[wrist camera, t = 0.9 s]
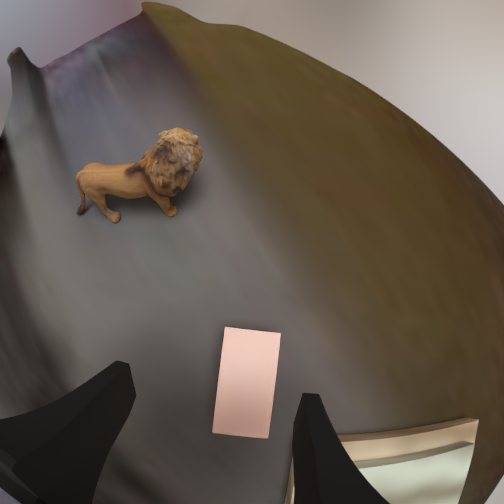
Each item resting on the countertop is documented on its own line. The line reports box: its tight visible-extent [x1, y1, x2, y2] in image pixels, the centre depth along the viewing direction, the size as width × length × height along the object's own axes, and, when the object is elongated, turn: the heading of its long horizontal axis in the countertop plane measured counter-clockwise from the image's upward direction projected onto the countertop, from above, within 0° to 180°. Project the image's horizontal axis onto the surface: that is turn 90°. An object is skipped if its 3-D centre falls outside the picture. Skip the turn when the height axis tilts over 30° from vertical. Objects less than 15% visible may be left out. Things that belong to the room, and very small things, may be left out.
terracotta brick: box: [212, 327, 281, 438], centre depth 22 cm, size 8×4×5 cm, turn 173°
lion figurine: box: [76, 128, 203, 223], centre depth 25 cm, size 15×5×9 cm, turn 102°
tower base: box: [284, 418, 479, 504], centre depth 18 cm, size 14×20×4 cm
